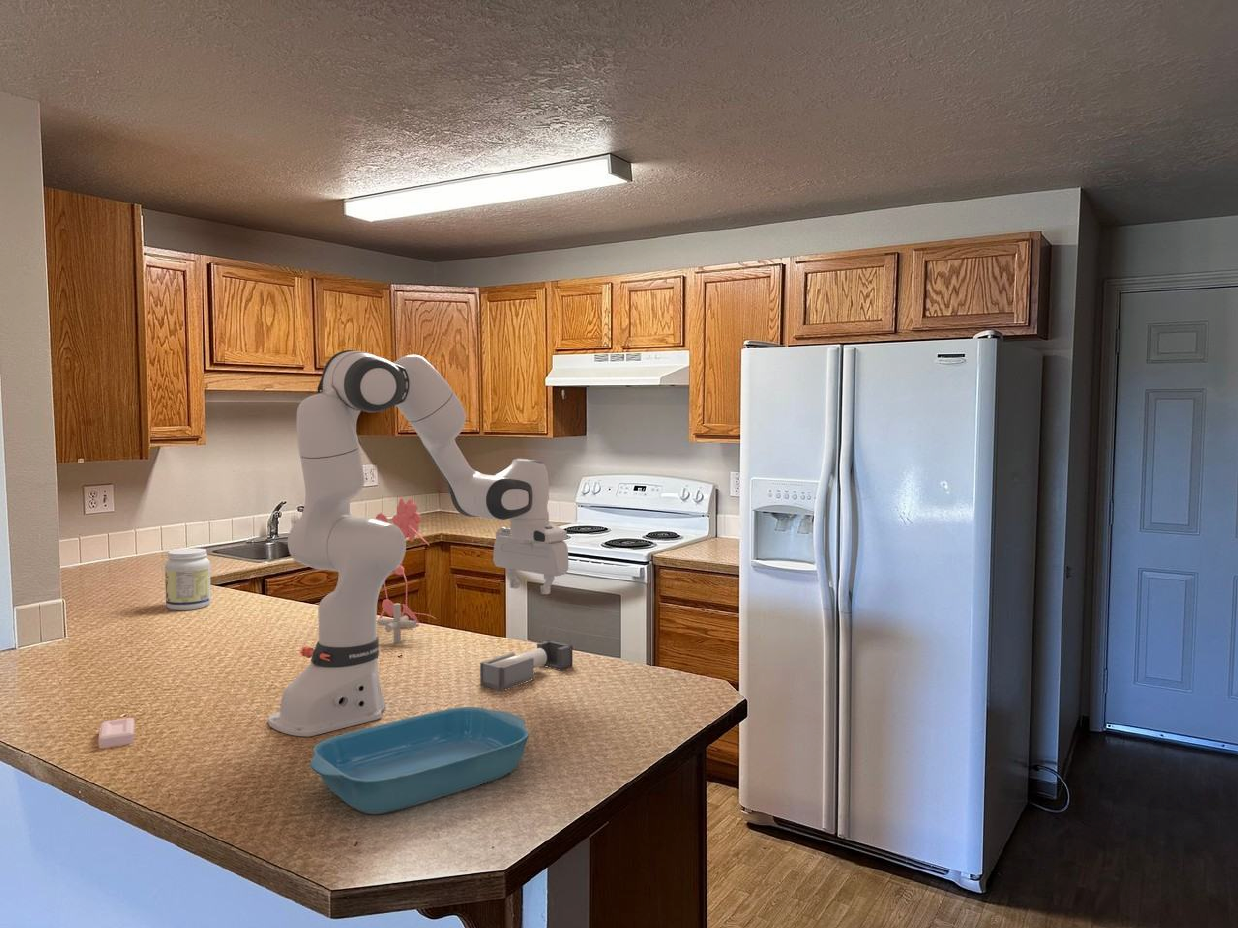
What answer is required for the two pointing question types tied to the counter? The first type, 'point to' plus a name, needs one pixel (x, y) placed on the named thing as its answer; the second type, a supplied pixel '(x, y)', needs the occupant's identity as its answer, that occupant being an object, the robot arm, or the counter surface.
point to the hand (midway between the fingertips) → (529, 590)
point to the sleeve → (506, 673)
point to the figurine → (408, 526)
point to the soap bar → (116, 733)
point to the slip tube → (537, 654)
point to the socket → (557, 654)
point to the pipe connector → (397, 623)
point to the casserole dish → (420, 757)
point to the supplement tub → (187, 579)
